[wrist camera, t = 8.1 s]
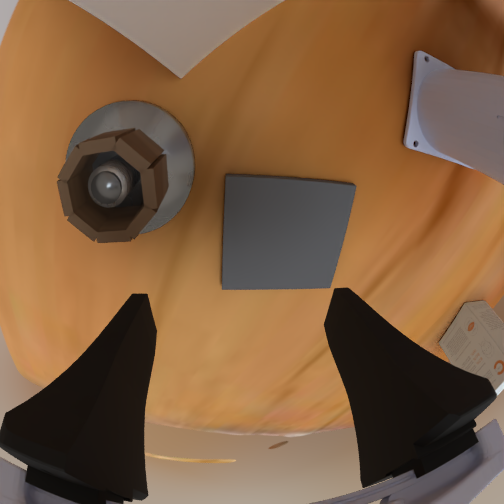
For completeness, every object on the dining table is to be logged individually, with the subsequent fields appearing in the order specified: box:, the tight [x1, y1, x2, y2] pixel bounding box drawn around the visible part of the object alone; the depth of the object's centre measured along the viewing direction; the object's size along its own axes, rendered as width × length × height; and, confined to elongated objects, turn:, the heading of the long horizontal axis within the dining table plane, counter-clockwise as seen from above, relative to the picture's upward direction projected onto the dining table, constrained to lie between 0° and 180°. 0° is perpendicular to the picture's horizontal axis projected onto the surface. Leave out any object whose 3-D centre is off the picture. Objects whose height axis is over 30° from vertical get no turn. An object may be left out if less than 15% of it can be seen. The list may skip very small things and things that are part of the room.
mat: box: [222, 174, 356, 290], centre depth 20 cm, size 9×9×1 cm
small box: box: [439, 300, 504, 395], centre depth 26 cm, size 8×6×13 cm
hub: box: [66, 101, 195, 234], centre depth 15 cm, size 9×9×4 cm
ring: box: [57, 128, 169, 243], centre depth 14 cm, size 6×6×4 cm
